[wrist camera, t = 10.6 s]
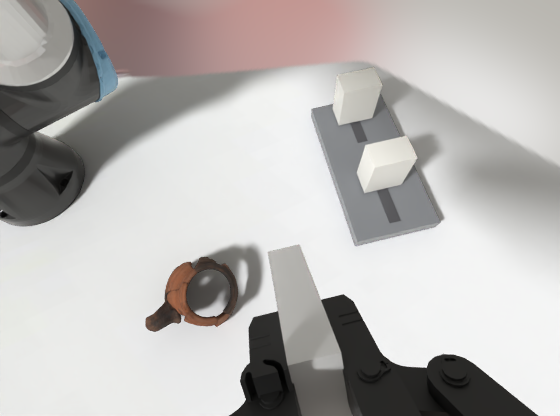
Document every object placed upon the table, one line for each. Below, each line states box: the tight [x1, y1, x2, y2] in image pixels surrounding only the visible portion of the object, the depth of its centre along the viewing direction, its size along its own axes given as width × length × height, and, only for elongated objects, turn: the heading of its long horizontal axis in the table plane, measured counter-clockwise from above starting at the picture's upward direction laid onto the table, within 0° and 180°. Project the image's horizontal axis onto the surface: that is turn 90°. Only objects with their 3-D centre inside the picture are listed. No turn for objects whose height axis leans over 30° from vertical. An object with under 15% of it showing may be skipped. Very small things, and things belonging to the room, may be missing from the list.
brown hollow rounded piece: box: [146, 257, 238, 332], centre depth 42 cm, size 12×10×8 cm
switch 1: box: [333, 67, 383, 125], centre depth 50 cm, size 4×6×7 cm, turn 103°
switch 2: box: [357, 136, 418, 193], centre depth 45 cm, size 4×6×7 cm, turn 103°
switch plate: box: [311, 94, 440, 246], centre depth 51 cm, size 27×12×2 cm, turn 13°
